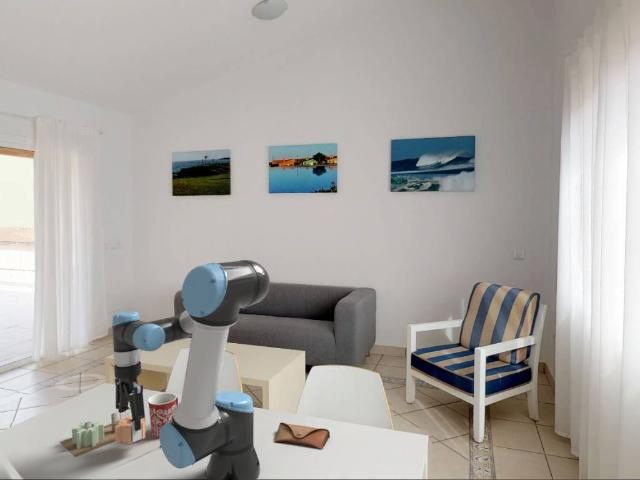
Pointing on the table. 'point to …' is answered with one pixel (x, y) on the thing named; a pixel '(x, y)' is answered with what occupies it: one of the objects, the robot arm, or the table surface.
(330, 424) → the table surface
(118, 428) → the gear
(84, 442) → the gear
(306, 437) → the sunglasses case
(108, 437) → the gear board
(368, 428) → the table surface
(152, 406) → the mug
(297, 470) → the table surface
